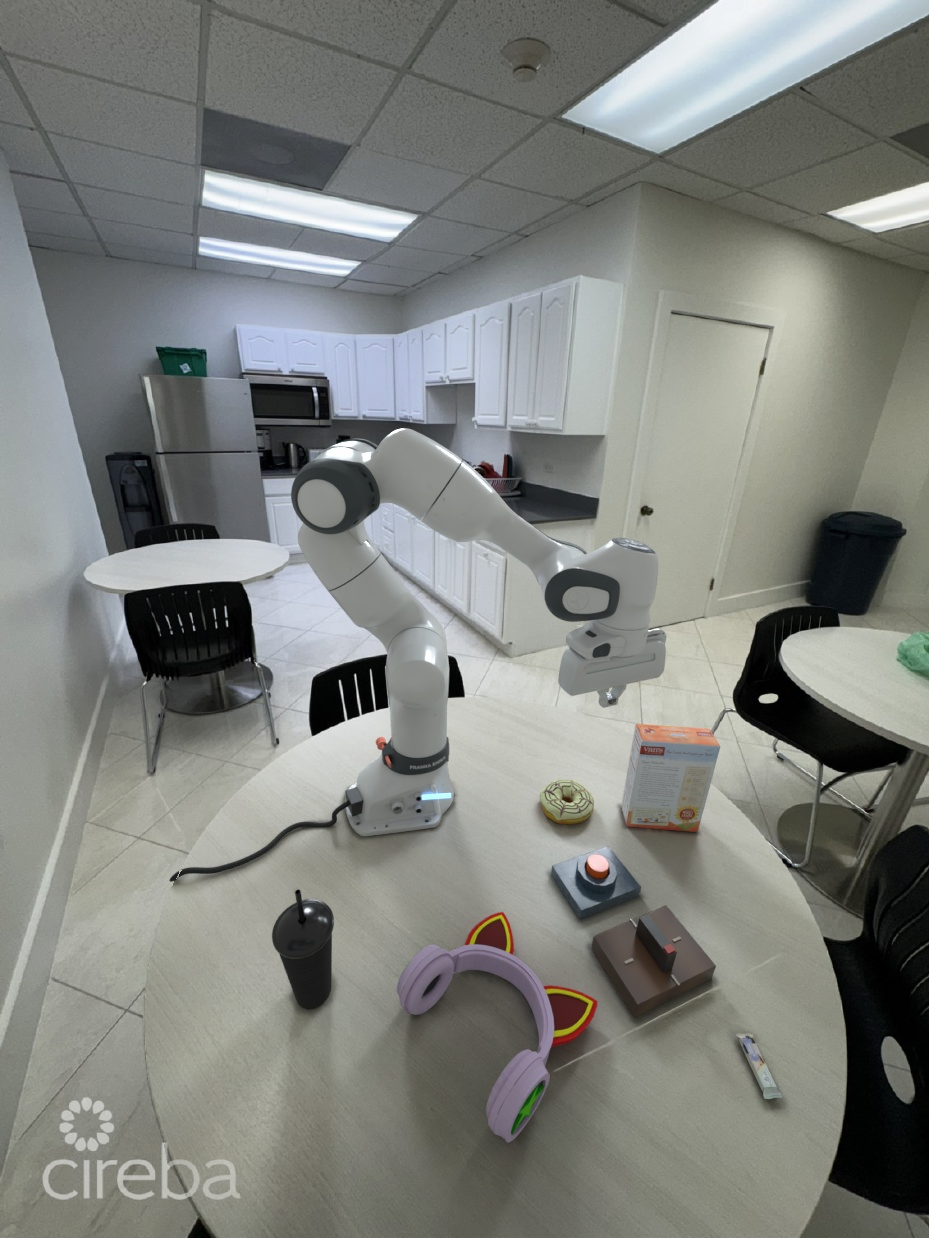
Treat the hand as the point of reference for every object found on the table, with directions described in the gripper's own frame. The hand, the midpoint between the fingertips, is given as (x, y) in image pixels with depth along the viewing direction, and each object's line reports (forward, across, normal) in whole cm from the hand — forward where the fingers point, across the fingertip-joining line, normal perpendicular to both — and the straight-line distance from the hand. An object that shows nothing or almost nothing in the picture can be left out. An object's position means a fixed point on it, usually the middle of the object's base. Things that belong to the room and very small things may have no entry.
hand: (607, 704), depth 88 cm
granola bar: (+27, +4, +42) cm, 50 cm away
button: (+23, +8, +13) cm, 28 cm away
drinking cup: (+27, +55, +13) cm, 63 cm away
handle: (+24, +8, +27) cm, 37 cm away
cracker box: (+27, -13, +5) cm, 31 cm away
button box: (+27, +8, +13) cm, 31 cm away
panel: (+27, +8, +27) cm, 39 cm away
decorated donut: (+27, +3, -4) cm, 28 cm away
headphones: (+27, +32, +25) cm, 49 cm away
